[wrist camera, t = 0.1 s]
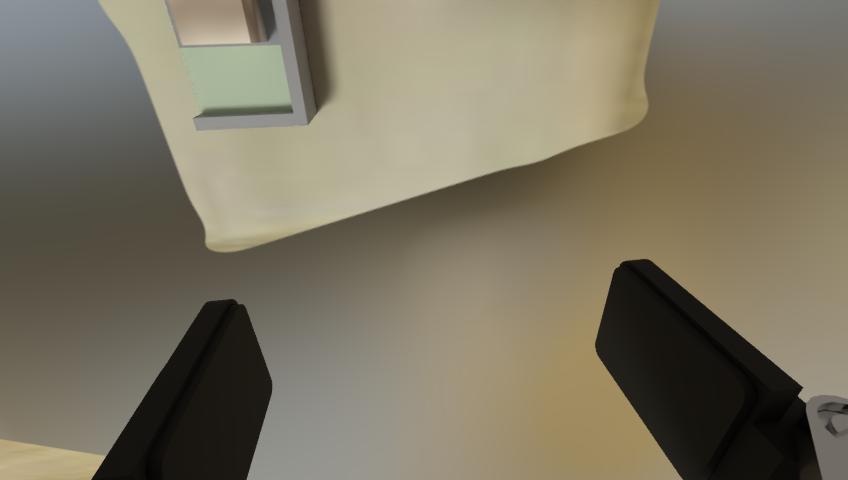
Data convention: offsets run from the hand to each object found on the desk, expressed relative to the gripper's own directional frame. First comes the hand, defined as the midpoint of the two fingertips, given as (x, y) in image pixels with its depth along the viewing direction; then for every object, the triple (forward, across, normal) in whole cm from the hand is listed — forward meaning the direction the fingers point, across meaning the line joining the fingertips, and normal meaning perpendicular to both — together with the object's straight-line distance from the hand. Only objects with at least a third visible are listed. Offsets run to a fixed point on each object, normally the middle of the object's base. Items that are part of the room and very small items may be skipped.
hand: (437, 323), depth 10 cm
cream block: (+27, +12, -9) cm, 31 cm away
